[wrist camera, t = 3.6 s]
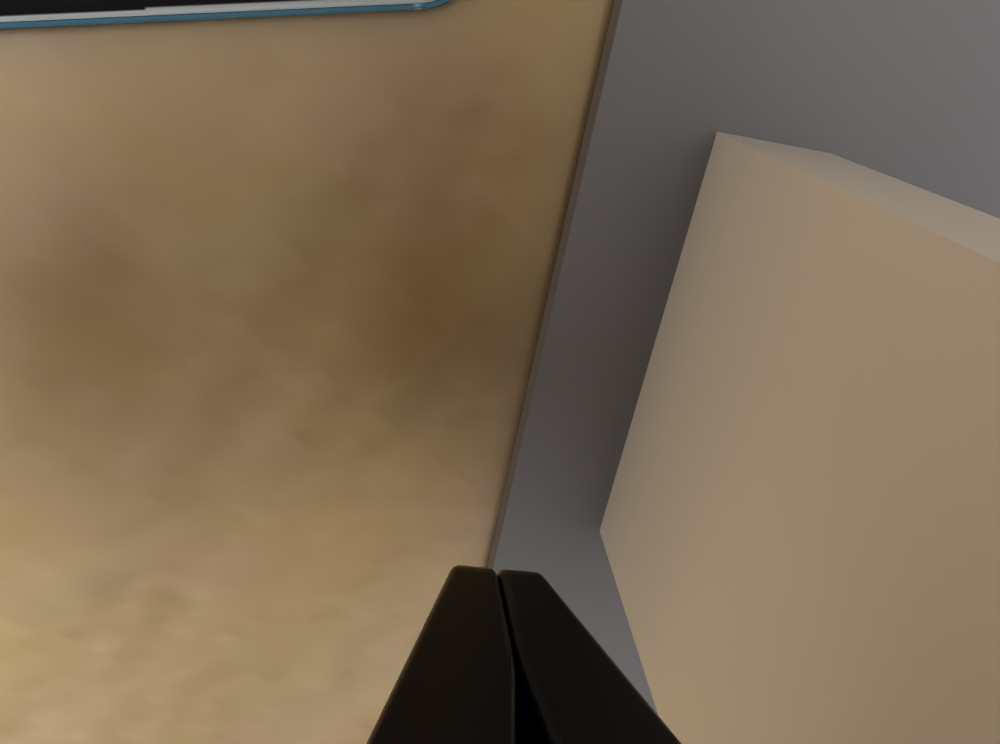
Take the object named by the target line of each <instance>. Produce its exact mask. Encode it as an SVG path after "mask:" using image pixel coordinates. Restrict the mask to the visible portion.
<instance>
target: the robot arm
mask: <svg viewBox="0 0 1000 744" xmlns="http://www.w3.org/2000/svg"><path fill="white" fill-rule="evenodd" d="M367 744H681V742H680V741H679V740H678V739H677V737H676V736H675V735H674V734H673V733H672V731H671V730H670V729H669V728H668V727H667V725H666V724H665V723H664V722H663V720H662V719H661V718H660V717H659V716H658V714H657V713H656V712H655V711H654V710H653V708H652V707H651V706H650V705H649V703H648V702H647V701H646V700H645V699H644V697H643V696H642V695H641V694H640V693H639V691H638V690H637V689H636V688H635V687H634V685H633V684H632V683H631V682H630V680H629V679H628V678H627V677H626V676H625V674H624V673H623V672H622V671H621V670H620V668H619V667H618V666H617V665H616V663H615V662H614V661H613V660H612V659H611V657H610V656H609V655H608V654H607V653H606V651H605V650H604V649H603V648H602V647H601V645H600V644H599V643H598V642H597V640H596V639H595V638H594V637H593V636H592V634H591V633H590V632H589V631H588V630H587V628H586V627H585V626H584V625H583V623H582V622H581V621H580V620H579V619H578V617H577V616H576V615H575V614H574V613H573V611H572V610H571V609H570V608H569V607H568V605H567V604H566V603H565V602H564V600H563V599H562V598H561V597H560V596H559V594H558V593H557V592H556V591H555V590H554V588H553V587H552V586H551V585H550V583H549V582H548V581H547V580H546V579H545V578H544V577H543V576H542V575H541V574H539V573H537V572H531V571H520V570H508V569H503V570H501V571H499V572H498V573H497V574H496V572H495V571H494V570H492V569H491V568H485V567H473V566H461V565H458V566H455V567H453V568H452V569H451V571H450V573H449V575H448V577H447V579H446V581H445V583H444V585H443V587H442V589H441V591H440V593H439V595H438V598H437V600H436V602H435V604H434V606H433V608H432V610H431V612H430V614H429V616H428V618H427V620H426V622H425V624H424V626H423V628H422V630H421V633H420V635H419V637H418V639H417V641H416V643H415V645H414V647H413V649H412V651H411V653H410V655H409V657H408V659H407V661H406V663H405V665H404V668H403V670H402V672H401V674H400V676H399V678H398V680H397V682H396V684H395V686H394V688H393V690H392V692H391V694H390V696H389V698H388V701H387V703H386V705H385V707H384V709H383V711H382V713H381V715H380V717H379V719H378V721H377V723H376V725H375V727H374V729H373V731H372V733H371V736H370V738H369V740H368V742H367Z"/></svg>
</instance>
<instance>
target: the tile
mask: <svg viewBox="0 0 1000 744" xmlns="http://www.w3.org/2000/svg"><path fill="white" fill-rule="evenodd" d="M599 531H600V534H601V537H602V540H603V544H604V547H605V550H606V553H607V556H608V559H609V562H610V566H611V569H612V572H613V575H614V578H615V581H616V584H617V588H618V591H619V594H620V597H621V600H622V603H623V606H624V610H625V613H626V616H627V619H628V622H629V625H630V628H631V632H632V635H633V638H634V641H635V644H636V647H637V650H638V654H639V657H640V660H641V663H642V666H643V669H644V672H645V676H646V679H647V682H648V685H649V688H650V691H651V694H652V698H653V701H654V704H655V707H656V710H657V713H658V716H659V717H660V718H661V719H662V720H663V722H664V723H665V724H666V725H667V727H668V728H669V729H670V730H671V731H672V733H673V734H674V735H675V736H676V737H677V739H678V740H679V741H680V742H681V744H1000V219H999V218H997V217H994V216H992V215H989V214H986V213H984V212H981V211H979V210H976V209H974V208H971V207H968V206H966V205H963V204H961V203H958V202H955V201H953V200H950V199H948V198H945V197H943V196H940V195H937V194H935V193H932V192H930V191H927V190H924V189H922V188H919V187H917V186H914V185H911V184H909V183H906V182H904V181H901V180H899V179H896V178H893V177H891V176H888V175H886V174H883V173H880V172H878V171H875V170H873V169H870V168H867V167H865V166H862V165H860V164H857V163H855V162H852V161H849V160H847V159H844V158H842V157H839V156H836V155H834V154H831V153H827V152H822V151H816V150H811V149H806V148H801V147H795V146H790V145H785V144H779V143H774V142H769V141H764V140H758V139H753V138H748V137H743V136H737V135H732V134H727V133H722V132H717V134H716V137H715V140H714V144H713V147H712V150H711V154H710V157H709V161H708V164H707V167H706V171H705V174H704V178H703V181H702V184H701V188H700V191H699V195H698V198H697V201H696V205H695V208H694V212H693V215H692V218H691V222H690V225H689V229H688V232H687V235H686V239H685V242H684V245H683V249H682V252H681V256H680V259H679V262H678V266H677V269H676V273H675V276H674V279H673V283H672V286H671V290H670V293H669V296H668V300H667V303H666V307H665V310H664V313H663V317H662V320H661V324H660V327H659V330H658V334H657V337H656V340H655V344H654V347H653V351H652V354H651V357H650V361H649V364H648V368H647V371H646V374H645V378H644V381H643V385H642V388H641V391H640V395H639V398H638V402H637V405H636V408H635V412H634V415H633V419H632V422H631V425H630V429H629V432H628V435H627V439H626V442H625V446H624V449H623V452H622V456H621V459H620V463H619V466H618V469H617V473H616V476H615V480H614V483H613V486H612V490H611V493H610V497H609V500H608V503H607V507H606V510H605V514H604V517H603V520H602V524H601V527H600V530H599Z"/></svg>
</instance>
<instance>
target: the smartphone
mask: <svg viewBox="0 0 1000 744" xmlns="http://www.w3.org/2000/svg"><path fill="white" fill-rule="evenodd" d="M432 1H433V2H432ZM450 1H451V0H436V1H435V0H0V29H9V28H31V27H52V26H74V25H96V24H118V23H140V22H161V21H183V20H205V19H227V18H249V17H271V16H292V15H314V14H336V13H358V12H380V11H402V10H422V9H429V8H435V7H438V6H441V5H443V4H446V3H448V2H450ZM426 2H427V3H426ZM413 3H420V4H413ZM391 4H396V5H391ZM369 5H374V6H369ZM347 6H352V7H347ZM325 7H330V8H325ZM303 8H308V9H303ZM280 9H285V10H280ZM258 10H263V11H258ZM236 11H241V12H236ZM214 12H219V13H214ZM192 13H197V14H192ZM170 14H174V15H170ZM148 15H152V16H148ZM125 16H130V17H125ZM103 17H108V18H103ZM81 18H86V19H81ZM59 19H63V20H59ZM37 20H41V21H37ZM15 21H19V22H15Z"/></svg>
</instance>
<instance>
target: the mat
mask: <svg viewBox="0 0 1000 744" xmlns="http://www.w3.org/2000/svg"><path fill="white" fill-rule="evenodd" d="M717 132H722V133H727V134H732V135H737V136H743V137H748V138H753V139H758V140H764V141H769V142H774V143H779V144H785V145H790V146H795V147H801V148H806V149H811V150H816V151H822V152H827V153H831V154H834V155H836V156H839V157H842V158H844V159H847V160H849V161H852V162H855V163H857V164H860V165H862V166H865V167H867V168H870V169H873V170H875V171H878V172H880V173H883V174H886V175H888V176H891V177H893V178H896V179H899V180H901V181H904V182H906V183H909V184H911V185H914V186H917V187H919V188H922V189H924V190H927V191H930V192H932V193H935V194H937V195H940V196H943V197H945V198H948V199H950V200H953V201H955V202H958V203H961V204H963V205H966V206H968V207H971V208H974V209H976V210H979V211H981V212H984V213H986V214H989V215H992V216H994V217H997V218H999V219H1000V0H614V3H613V8H612V12H611V17H610V21H609V25H608V30H607V34H606V39H605V43H604V48H603V52H602V57H601V61H600V66H599V70H598V74H597V79H596V83H595V88H594V92H593V97H592V101H591V106H590V110H589V115H588V119H587V123H586V128H585V132H584V137H583V141H582V146H581V150H580V155H579V159H578V164H577V168H576V172H575V177H574V181H573V186H572V190H571V195H570V199H569V204H568V208H567V213H566V217H565V221H564V226H563V230H562V235H561V239H560V244H559V248H558V253H557V257H556V262H555V266H554V270H553V275H552V279H551V284H550V288H549V293H548V297H547V302H546V306H545V311H544V315H543V319H542V324H541V328H540V333H539V337H538V342H537V346H536V351H535V355H534V360H533V364H532V368H531V373H530V377H529V382H528V386H527V391H526V395H525V400H524V404H523V409H522V413H521V417H520V422H519V426H518V431H517V435H516V440H515V444H514V449H513V453H512V458H511V462H510V466H509V471H508V475H507V480H506V484H505V489H504V493H503V498H502V502H501V507H500V511H499V515H498V520H497V524H496V529H495V533H494V538H493V542H492V547H491V551H490V556H489V560H488V564H487V568H491V569H492V570H494V571H495V572H496V574H497V573H498V572H499V571H501V570H503V569H508V570H520V571H531V572H537V573H539V574H541V575H542V576H543V577H544V578H545V579H546V580H547V581H548V582H549V583H550V585H551V586H552V587H553V588H554V590H555V591H556V592H557V593H558V594H559V596H560V597H561V598H562V599H563V600H564V602H565V603H566V604H567V605H568V607H569V608H570V609H571V610H572V611H573V613H574V614H575V615H576V616H577V617H578V619H579V620H580V621H581V622H582V623H583V625H584V626H585V627H586V628H587V630H588V631H589V632H590V633H591V634H592V636H593V637H594V638H595V639H596V640H597V642H598V643H599V644H600V645H601V647H602V648H603V649H604V650H605V651H606V653H607V654H608V655H609V656H610V657H611V659H612V660H613V661H614V662H615V663H616V665H617V666H618V667H619V668H620V670H621V671H622V672H623V673H624V674H625V676H626V677H627V678H628V679H629V680H630V682H631V683H632V684H633V685H634V687H635V688H636V689H637V690H638V691H639V693H640V694H641V695H642V696H643V697H644V699H645V700H646V701H647V702H648V703H649V705H650V706H651V707H652V708H653V710H654V711H655V712H656V713H657V710H656V707H655V704H654V701H653V698H652V694H651V691H650V688H649V685H648V682H647V679H646V676H645V672H644V669H643V666H642V663H641V660H640V657H639V654H638V650H637V647H636V644H635V641H634V638H633V635H632V632H631V628H630V625H629V622H628V619H627V616H626V613H625V610H624V606H623V603H622V600H621V597H620V594H619V591H618V588H617V584H616V581H615V578H614V575H613V572H612V569H611V566H610V562H609V559H608V556H607V553H606V550H605V547H604V544H603V540H602V537H601V534H600V531H599V530H600V527H601V524H602V520H603V517H604V514H605V510H606V507H607V503H608V500H609V497H610V493H611V490H612V486H613V483H614V480H615V476H616V473H617V469H618V466H619V463H620V459H621V456H622V452H623V449H624V446H625V442H626V439H627V435H628V432H629V429H630V425H631V422H632V419H633V415H634V412H635V408H636V405H637V402H638V398H639V395H640V391H641V388H642V385H643V381H644V378H645V374H646V371H647V368H648V364H649V361H650V357H651V354H652V351H653V347H654V344H655V340H656V337H657V334H658V330H659V327H660V324H661V320H662V317H663V313H664V310H665V307H666V303H667V300H668V296H669V293H670V290H671V286H672V283H673V279H674V276H675V273H676V269H677V266H678V262H679V259H680V256H681V252H682V249H683V245H684V242H685V239H686V235H687V232H688V229H689V225H690V222H691V218H692V215H693V212H694V208H695V205H696V201H697V198H698V195H699V191H700V188H701V184H702V181H703V178H704V174H705V171H706V167H707V164H708V161H709V157H710V154H711V150H712V147H713V144H714V140H715V137H716V134H717ZM657 714H658V713H657Z"/></svg>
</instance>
